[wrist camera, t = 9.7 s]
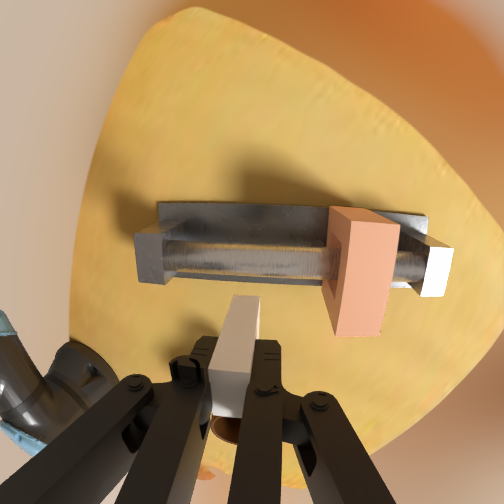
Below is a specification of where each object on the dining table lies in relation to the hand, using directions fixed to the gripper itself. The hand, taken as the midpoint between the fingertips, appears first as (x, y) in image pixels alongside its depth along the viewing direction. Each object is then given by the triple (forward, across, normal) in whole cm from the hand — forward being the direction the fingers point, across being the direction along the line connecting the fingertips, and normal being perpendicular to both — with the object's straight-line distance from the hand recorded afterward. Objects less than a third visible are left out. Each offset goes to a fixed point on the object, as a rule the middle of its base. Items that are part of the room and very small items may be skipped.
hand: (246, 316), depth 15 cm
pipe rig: (+16, +4, 0) cm, 16 cm away
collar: (+15, +9, 0) cm, 17 cm away
